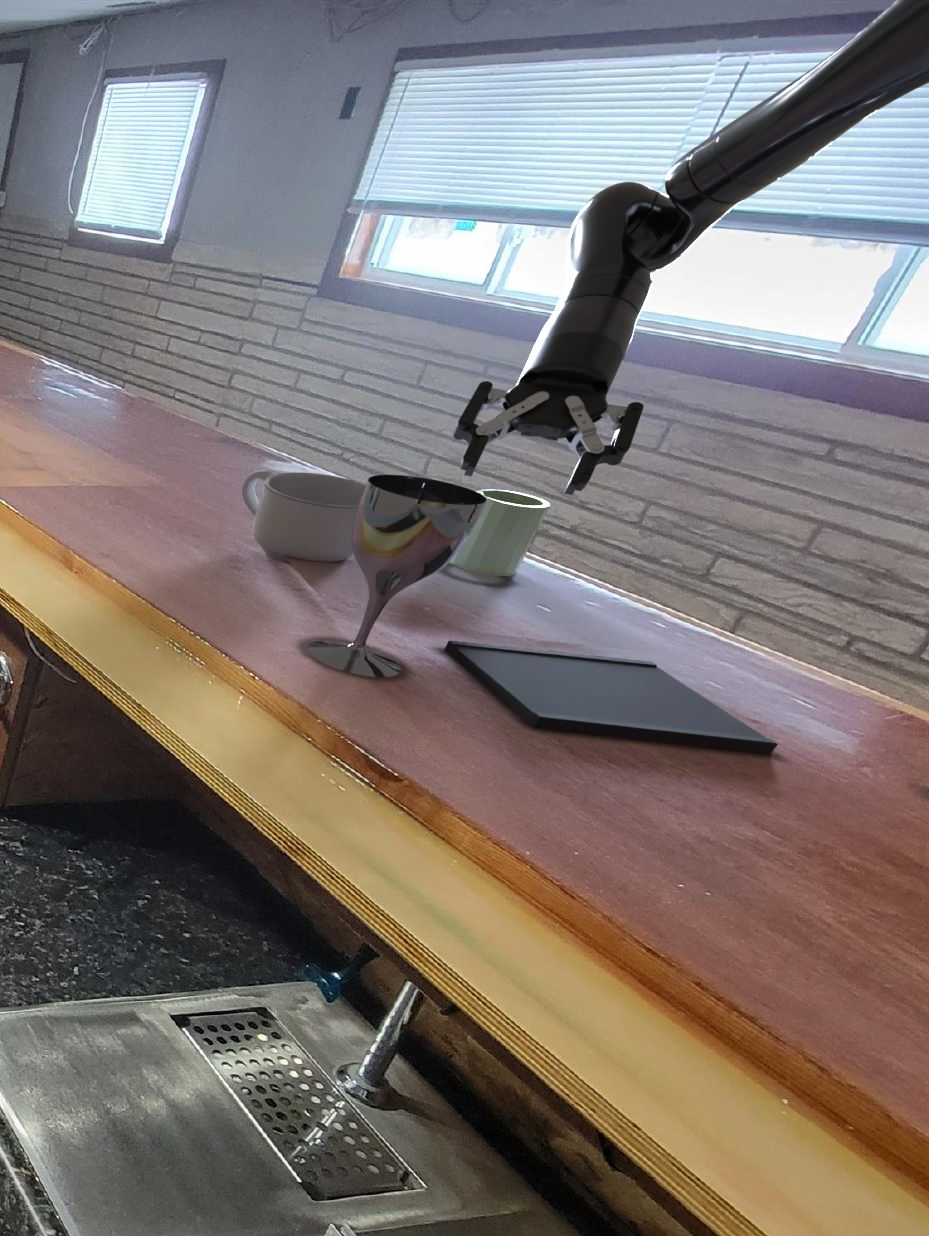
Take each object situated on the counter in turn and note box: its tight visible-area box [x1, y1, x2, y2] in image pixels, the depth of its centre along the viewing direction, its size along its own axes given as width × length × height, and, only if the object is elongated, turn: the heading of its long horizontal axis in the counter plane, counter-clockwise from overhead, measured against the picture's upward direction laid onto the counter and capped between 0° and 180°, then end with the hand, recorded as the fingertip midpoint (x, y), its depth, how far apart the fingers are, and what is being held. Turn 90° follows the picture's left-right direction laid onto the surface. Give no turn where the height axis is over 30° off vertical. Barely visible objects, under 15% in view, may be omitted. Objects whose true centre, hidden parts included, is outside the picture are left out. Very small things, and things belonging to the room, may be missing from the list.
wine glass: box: [306, 474, 487, 678], centre depth 83 cm, size 8×8×15 cm
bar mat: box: [443, 640, 778, 756], centre depth 82 cm, size 16×14×1 cm
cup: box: [449, 488, 551, 577], centre depth 104 cm, size 6×6×8 cm
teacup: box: [241, 469, 366, 565], centre depth 108 cm, size 14×11×8 cm
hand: (518, 481), depth 104 cm, fingers open, 8 cm apart
